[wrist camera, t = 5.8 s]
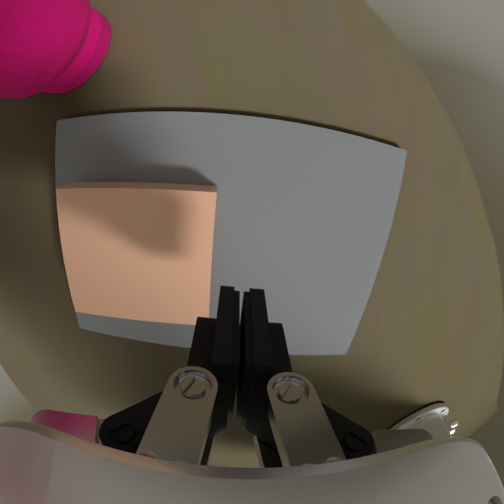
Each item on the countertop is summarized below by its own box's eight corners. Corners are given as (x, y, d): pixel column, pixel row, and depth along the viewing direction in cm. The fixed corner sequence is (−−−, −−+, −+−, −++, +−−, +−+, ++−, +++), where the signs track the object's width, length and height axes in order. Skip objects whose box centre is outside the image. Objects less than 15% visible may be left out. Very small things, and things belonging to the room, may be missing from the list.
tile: (217, 192, 13) (56, 188, 11) (208, 325, 16) (75, 311, 15) (217, 185, 14) (71, 182, 13) (209, 307, 18) (85, 296, 16)
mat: (402, 150, 14) (406, 150, 14) (343, 349, 21) (345, 354, 20) (61, 120, 13) (56, 120, 12) (82, 324, 19) (80, 328, 18)
